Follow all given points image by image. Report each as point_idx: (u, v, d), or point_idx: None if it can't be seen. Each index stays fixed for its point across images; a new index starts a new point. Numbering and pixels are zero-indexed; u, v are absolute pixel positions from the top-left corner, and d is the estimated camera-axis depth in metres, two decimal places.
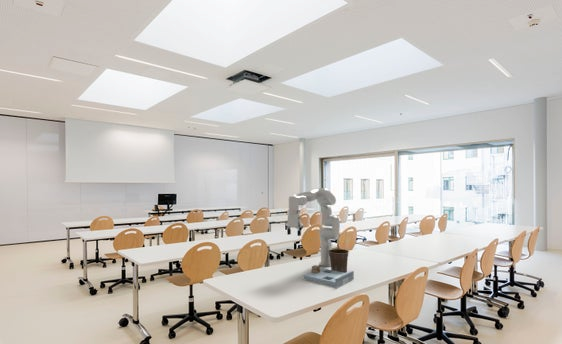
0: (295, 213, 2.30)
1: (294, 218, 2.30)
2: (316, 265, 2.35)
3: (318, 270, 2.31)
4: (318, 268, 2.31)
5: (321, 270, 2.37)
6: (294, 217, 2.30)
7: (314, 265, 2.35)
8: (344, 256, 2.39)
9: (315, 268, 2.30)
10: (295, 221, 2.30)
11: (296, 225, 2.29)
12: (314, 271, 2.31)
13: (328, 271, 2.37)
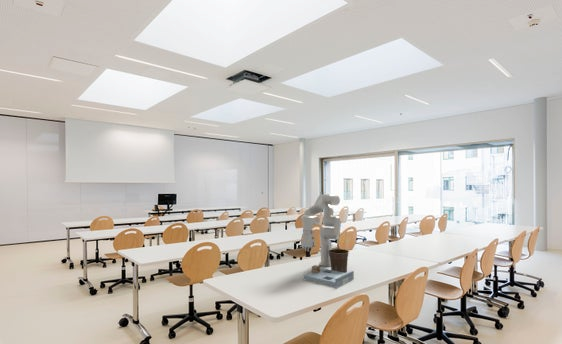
0: (309, 233, 2.35)
1: (308, 238, 2.34)
2: (316, 265, 2.35)
3: (318, 270, 2.31)
4: (318, 268, 2.31)
5: (321, 270, 2.37)
6: (308, 237, 2.35)
7: (314, 265, 2.35)
8: (344, 256, 2.39)
9: (315, 268, 2.30)
10: (309, 241, 2.34)
11: (310, 245, 2.33)
12: (314, 271, 2.31)
13: (328, 271, 2.37)
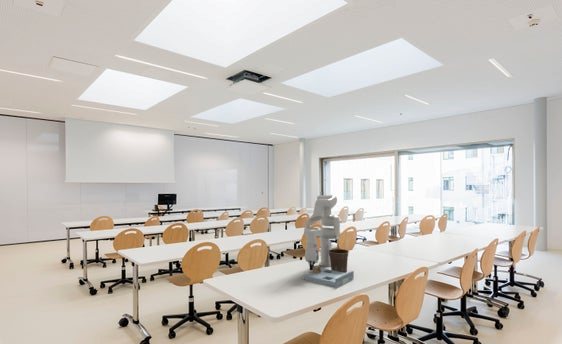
0: (313, 247, 2.32)
1: (312, 252, 2.32)
2: None
3: (319, 270, 2.30)
4: (319, 268, 2.31)
5: (321, 270, 2.37)
6: (312, 251, 2.32)
7: (315, 265, 2.34)
8: (344, 256, 2.39)
9: (316, 268, 2.30)
10: (313, 255, 2.32)
11: (314, 259, 2.31)
12: (315, 271, 2.30)
13: (328, 271, 2.37)
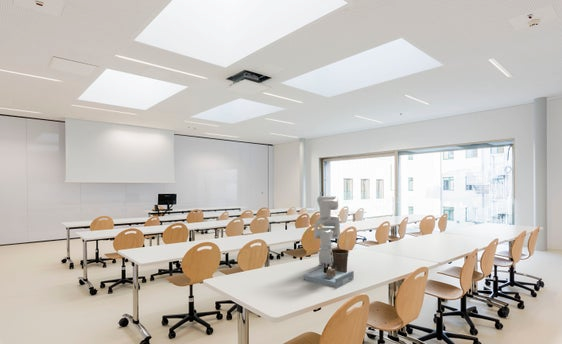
0: (327, 249, 2.24)
1: (326, 254, 2.24)
2: None
3: (333, 273, 2.22)
4: (333, 271, 2.22)
5: (321, 270, 2.37)
6: (326, 253, 2.24)
7: (329, 268, 2.25)
8: (344, 256, 2.39)
9: (330, 271, 2.21)
10: (327, 257, 2.23)
11: (328, 261, 2.23)
12: (329, 274, 2.21)
13: None
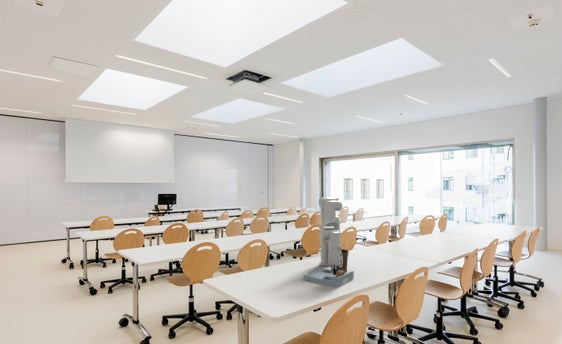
0: (337, 250, 2.19)
1: (336, 255, 2.19)
2: (340, 270, 2.20)
3: None
4: (343, 273, 2.17)
5: (321, 270, 2.37)
6: (336, 254, 2.19)
7: (338, 270, 2.20)
8: (344, 256, 2.39)
9: (340, 273, 2.16)
10: (337, 259, 2.18)
11: (338, 263, 2.18)
12: None
13: (328, 271, 2.37)
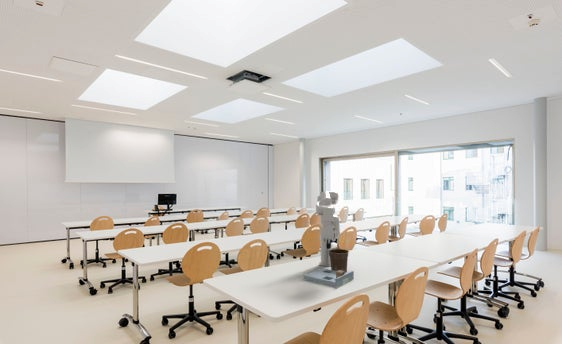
0: (330, 224, 2.24)
1: (329, 229, 2.24)
2: (340, 270, 2.20)
3: None
4: (343, 273, 2.17)
5: (321, 270, 2.37)
6: (329, 228, 2.24)
7: (338, 270, 2.20)
8: (344, 256, 2.39)
9: (340, 273, 2.16)
10: (330, 233, 2.23)
11: (331, 237, 2.23)
12: None
13: (328, 271, 2.37)
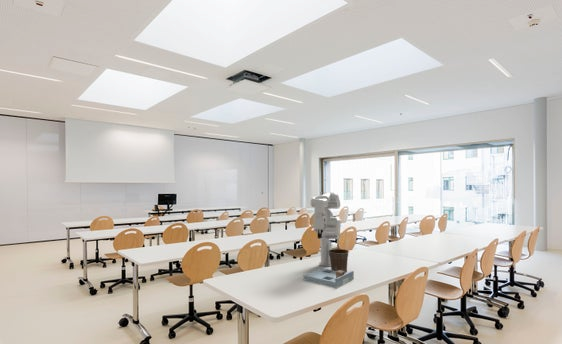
0: (321, 215, 2.39)
1: (320, 220, 2.39)
2: (340, 270, 2.20)
3: None
4: (343, 273, 2.17)
5: (321, 270, 2.37)
6: (320, 219, 2.39)
7: (338, 270, 2.20)
8: (344, 256, 2.39)
9: (340, 273, 2.16)
10: (321, 223, 2.38)
11: (322, 227, 2.38)
12: None
13: (328, 271, 2.37)
